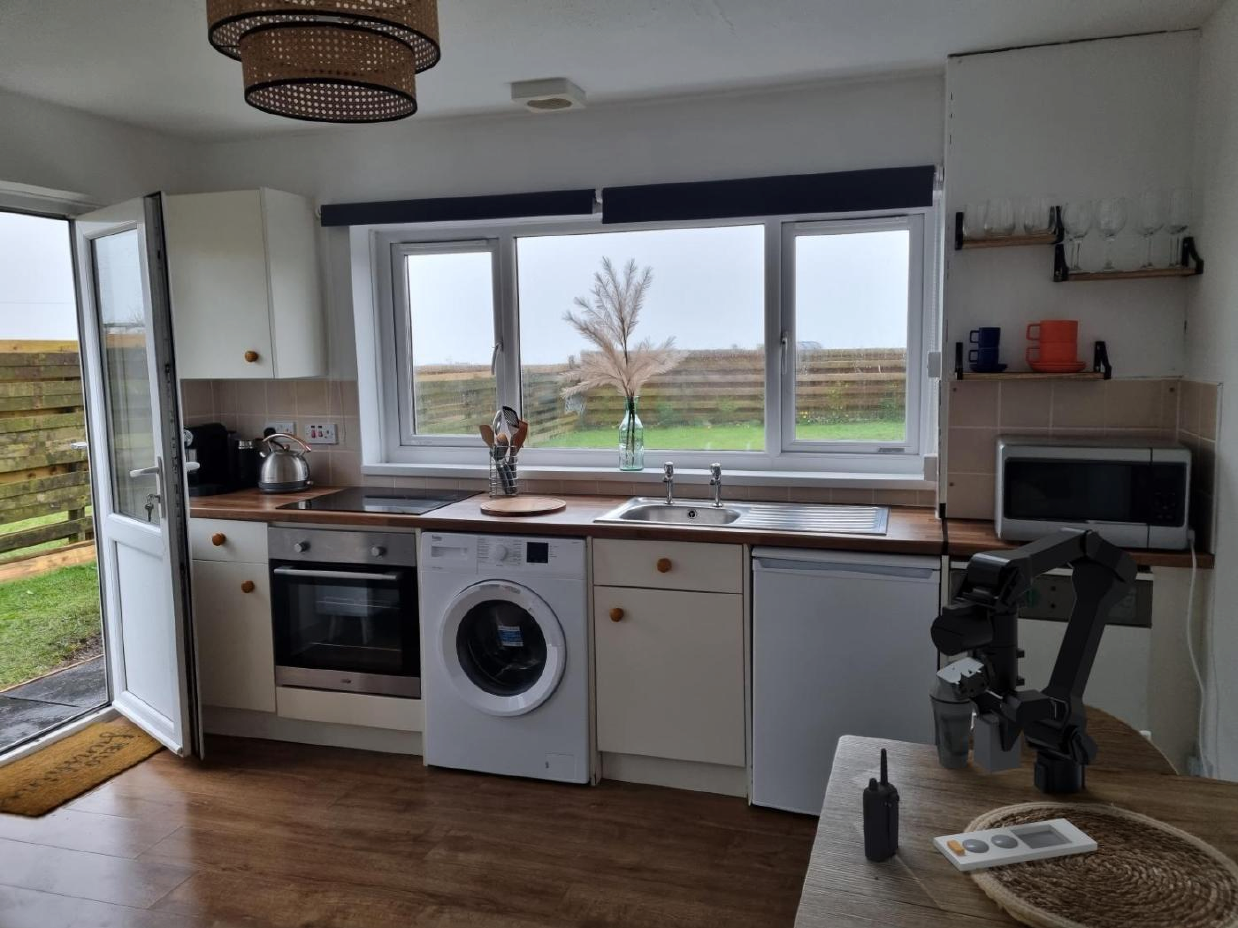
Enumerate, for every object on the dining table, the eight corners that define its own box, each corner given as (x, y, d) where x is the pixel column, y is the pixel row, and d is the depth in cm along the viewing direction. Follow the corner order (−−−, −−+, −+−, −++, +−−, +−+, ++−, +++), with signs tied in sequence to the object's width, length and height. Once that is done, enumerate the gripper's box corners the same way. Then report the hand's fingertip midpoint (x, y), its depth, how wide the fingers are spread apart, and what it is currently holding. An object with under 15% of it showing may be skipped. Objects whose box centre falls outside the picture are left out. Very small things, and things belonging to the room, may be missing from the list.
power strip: (1063, 831, 133) (1063, 814, 132) (1097, 856, 126) (1097, 838, 125) (933, 851, 129) (933, 833, 129) (960, 878, 122) (960, 859, 122)
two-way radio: (885, 843, 132) (883, 741, 130) (911, 856, 128) (909, 752, 126) (858, 856, 129) (856, 752, 127) (884, 870, 125) (882, 763, 123)
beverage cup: (979, 772, 152) (979, 653, 149) (932, 770, 153) (931, 652, 151) (972, 753, 159) (971, 639, 157) (927, 751, 160) (926, 639, 158)
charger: (1003, 756, 139) (1003, 710, 138) (1021, 767, 135) (1020, 720, 134) (973, 761, 138) (973, 715, 137) (990, 772, 134) (989, 725, 133)
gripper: (911, 629, 141) (913, 728, 143) (984, 669, 123) (985, 781, 125) (977, 621, 144) (978, 718, 146) (1058, 658, 126) (1058, 768, 127)
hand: (997, 744), depth 136 cm, fingers closed on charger, 4 cm apart
